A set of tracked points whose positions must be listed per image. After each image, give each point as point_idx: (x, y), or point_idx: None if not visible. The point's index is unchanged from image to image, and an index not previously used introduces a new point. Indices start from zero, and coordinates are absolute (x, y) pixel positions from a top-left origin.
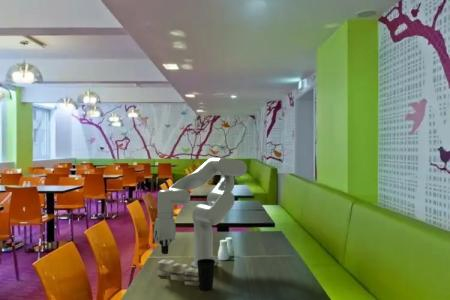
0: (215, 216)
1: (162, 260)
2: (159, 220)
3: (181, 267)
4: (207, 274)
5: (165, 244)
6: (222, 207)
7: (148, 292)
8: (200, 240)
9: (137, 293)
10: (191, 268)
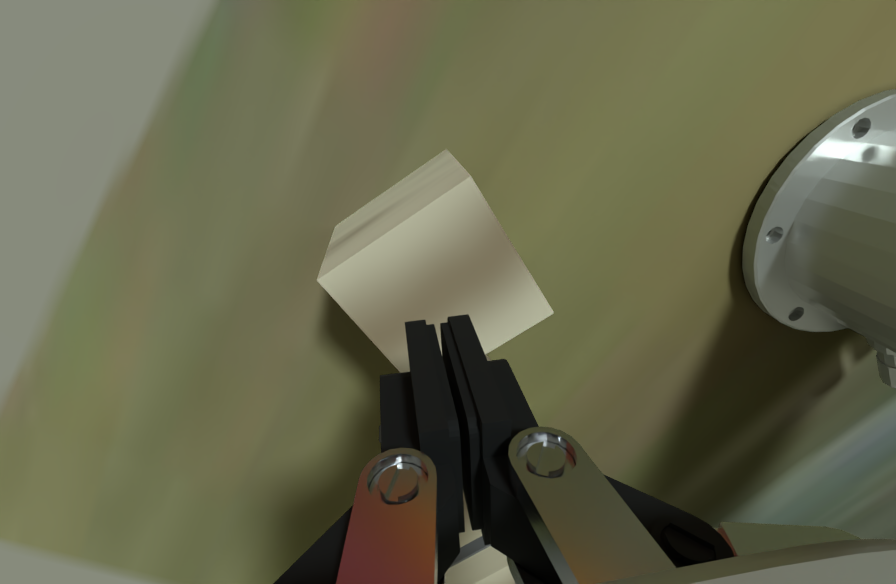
0: None
1: (432, 223)
2: None
3: (460, 535)
4: None
5: (488, 509)
6: None
7: (122, 534)
8: None
9: (31, 522)
10: (511, 579)
